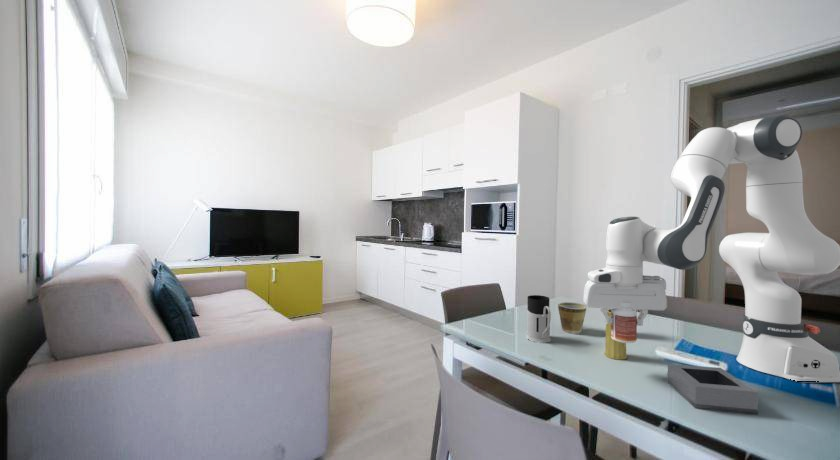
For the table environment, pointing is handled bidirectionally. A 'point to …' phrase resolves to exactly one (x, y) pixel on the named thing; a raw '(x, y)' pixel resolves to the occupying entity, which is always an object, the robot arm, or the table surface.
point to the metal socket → (712, 389)
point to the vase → (614, 345)
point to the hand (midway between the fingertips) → (623, 324)
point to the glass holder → (538, 319)
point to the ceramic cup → (572, 316)
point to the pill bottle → (624, 323)
